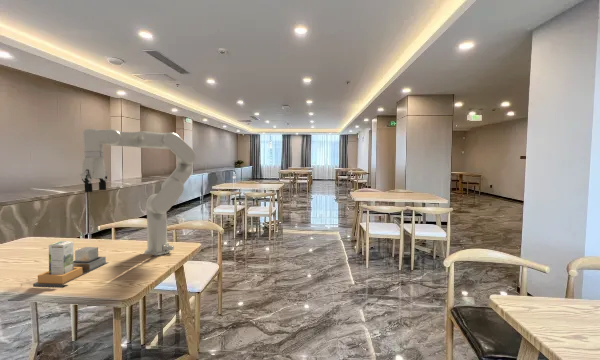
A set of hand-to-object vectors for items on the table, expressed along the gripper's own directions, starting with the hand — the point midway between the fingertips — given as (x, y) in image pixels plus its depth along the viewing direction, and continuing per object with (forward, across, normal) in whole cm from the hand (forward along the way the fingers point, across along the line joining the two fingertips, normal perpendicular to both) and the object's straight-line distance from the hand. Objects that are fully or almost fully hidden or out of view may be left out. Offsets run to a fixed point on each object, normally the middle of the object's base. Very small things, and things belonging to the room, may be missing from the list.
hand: (95, 190), depth 144 cm
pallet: (+34, +18, +2) cm, 39 cm away
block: (+33, +11, +2) cm, 35 cm away
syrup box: (+33, +25, +2) cm, 41 cm away
